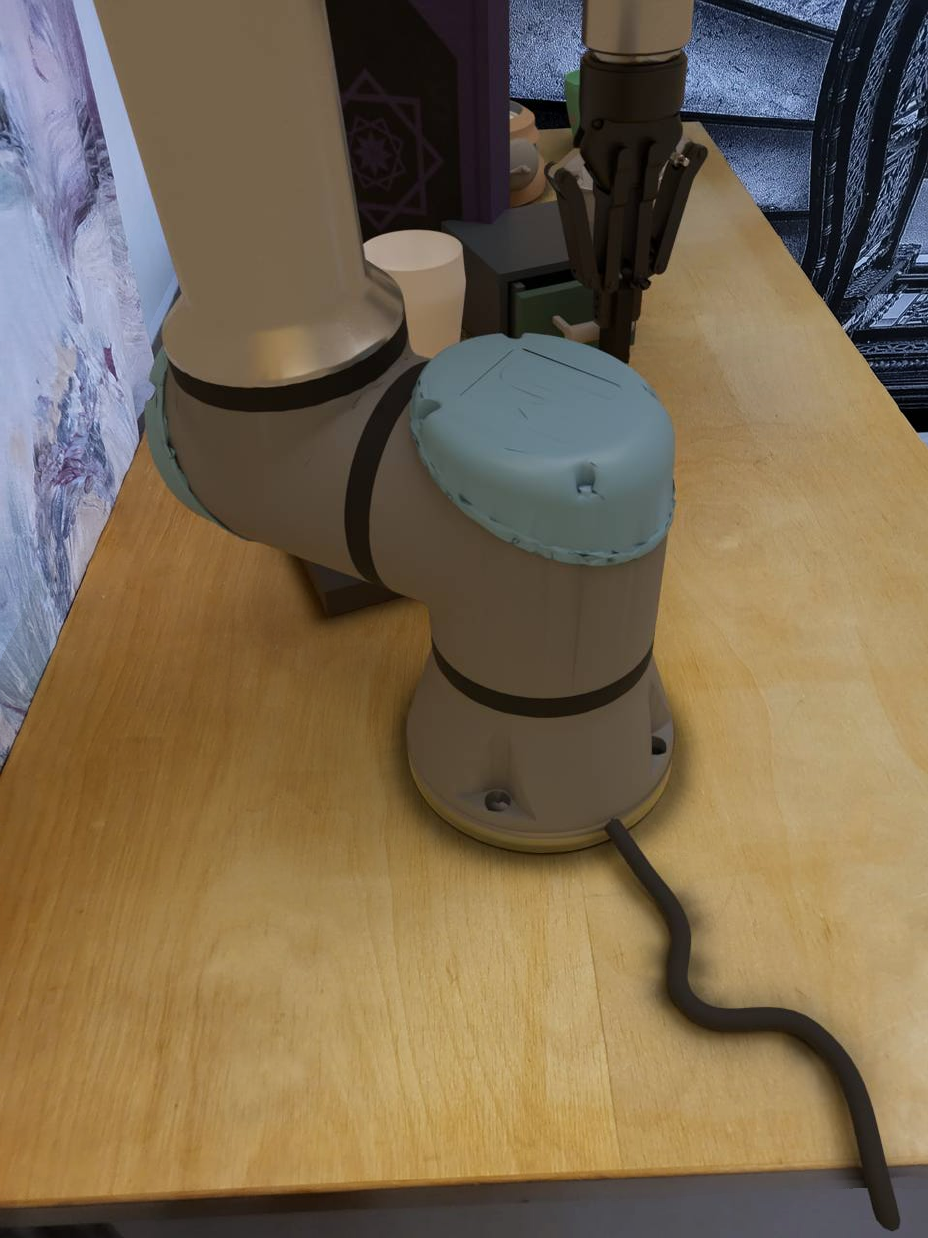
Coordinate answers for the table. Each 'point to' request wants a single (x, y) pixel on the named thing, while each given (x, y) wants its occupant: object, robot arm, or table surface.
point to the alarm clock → (524, 157)
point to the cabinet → (506, 260)
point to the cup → (425, 284)
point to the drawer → (554, 308)
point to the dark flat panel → (344, 589)
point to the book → (424, 109)
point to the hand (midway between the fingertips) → (613, 358)
